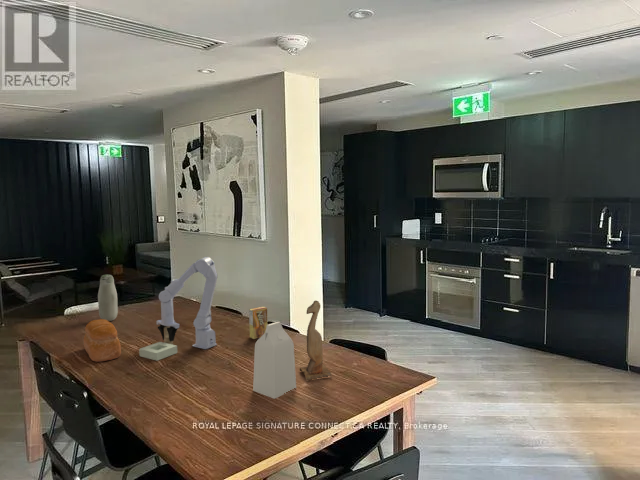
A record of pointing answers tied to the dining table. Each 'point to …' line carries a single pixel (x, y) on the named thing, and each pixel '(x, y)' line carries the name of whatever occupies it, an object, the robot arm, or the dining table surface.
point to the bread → (101, 340)
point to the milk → (274, 362)
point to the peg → (167, 336)
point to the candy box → (257, 322)
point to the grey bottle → (107, 298)
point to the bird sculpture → (314, 348)
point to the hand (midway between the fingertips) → (168, 340)
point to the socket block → (158, 351)
